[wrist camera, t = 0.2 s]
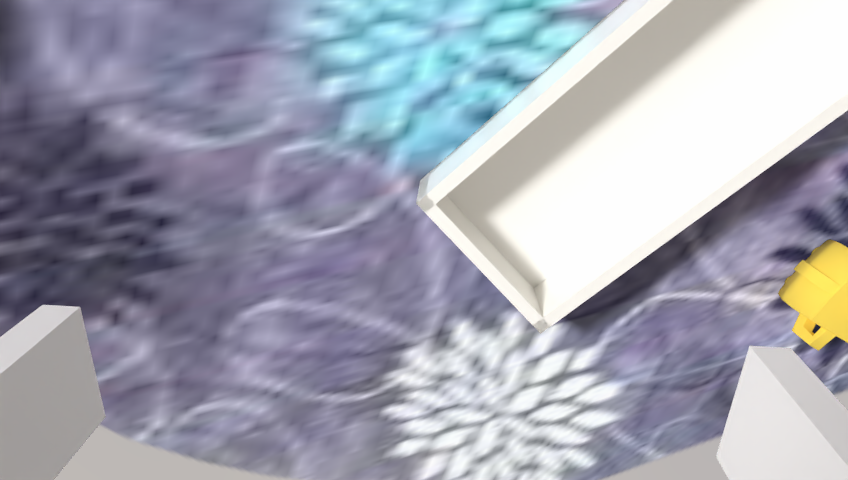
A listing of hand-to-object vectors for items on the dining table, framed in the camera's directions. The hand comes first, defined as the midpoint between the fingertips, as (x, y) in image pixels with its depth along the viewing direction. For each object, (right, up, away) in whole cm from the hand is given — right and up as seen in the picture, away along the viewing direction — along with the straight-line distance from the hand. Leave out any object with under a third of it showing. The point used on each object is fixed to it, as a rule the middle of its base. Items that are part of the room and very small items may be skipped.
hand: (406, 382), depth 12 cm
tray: (+16, +13, +24) cm, 31 cm away
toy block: (+27, +1, +28) cm, 39 cm away
